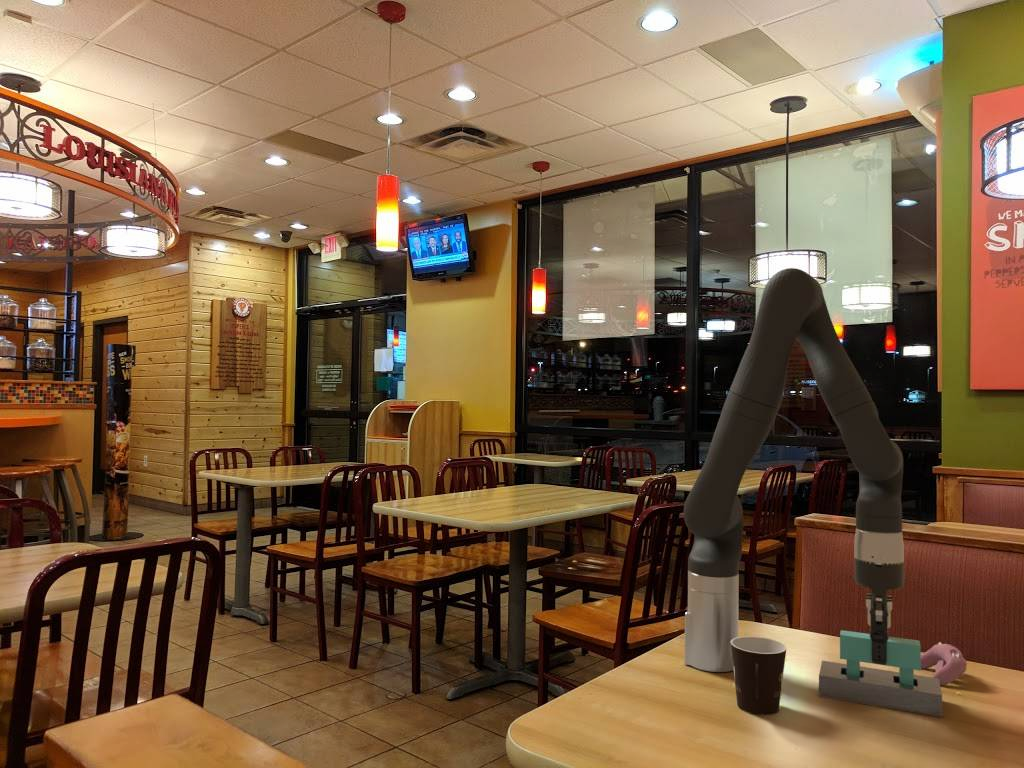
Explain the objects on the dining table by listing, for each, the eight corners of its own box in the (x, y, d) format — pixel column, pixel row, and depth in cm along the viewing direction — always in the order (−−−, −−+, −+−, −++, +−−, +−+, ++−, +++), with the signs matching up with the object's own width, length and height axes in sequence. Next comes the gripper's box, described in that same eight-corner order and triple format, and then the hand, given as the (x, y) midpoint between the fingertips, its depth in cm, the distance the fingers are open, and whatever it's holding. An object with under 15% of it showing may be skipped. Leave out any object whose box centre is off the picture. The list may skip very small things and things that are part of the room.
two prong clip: (839, 676, 126) (840, 634, 127) (840, 671, 129) (840, 630, 129) (920, 689, 121) (920, 645, 121) (919, 683, 124) (919, 640, 124)
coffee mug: (746, 692, 127) (746, 633, 127) (795, 707, 121) (795, 645, 121) (710, 711, 119) (710, 648, 119) (761, 729, 112) (761, 662, 113)
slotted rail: (818, 696, 126) (818, 675, 126) (822, 680, 133) (822, 660, 133) (942, 717, 118) (942, 695, 118) (938, 699, 125) (938, 678, 125)
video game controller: (957, 696, 130) (976, 662, 130) (931, 683, 131) (951, 648, 131) (935, 676, 140) (953, 643, 139) (912, 663, 141) (930, 631, 140)
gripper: (855, 547, 134) (855, 645, 133) (853, 562, 121) (853, 670, 121) (902, 551, 130) (903, 651, 130) (905, 567, 118) (905, 678, 117)
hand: (879, 659), depth 125 cm, fingers closed on two prong clip, 3 cm apart
